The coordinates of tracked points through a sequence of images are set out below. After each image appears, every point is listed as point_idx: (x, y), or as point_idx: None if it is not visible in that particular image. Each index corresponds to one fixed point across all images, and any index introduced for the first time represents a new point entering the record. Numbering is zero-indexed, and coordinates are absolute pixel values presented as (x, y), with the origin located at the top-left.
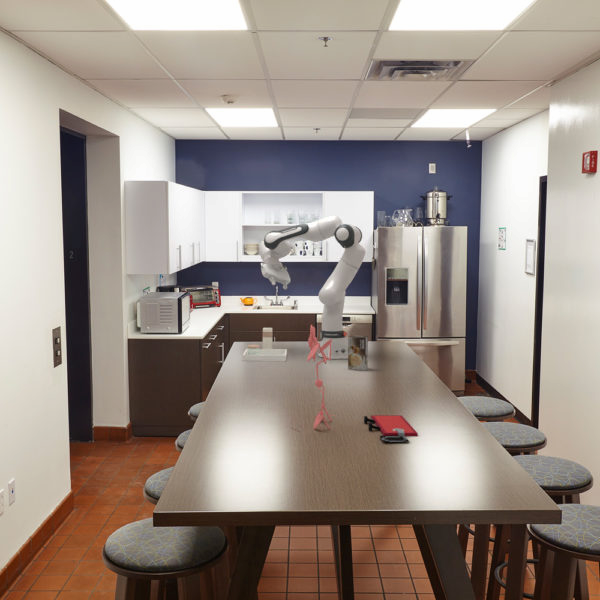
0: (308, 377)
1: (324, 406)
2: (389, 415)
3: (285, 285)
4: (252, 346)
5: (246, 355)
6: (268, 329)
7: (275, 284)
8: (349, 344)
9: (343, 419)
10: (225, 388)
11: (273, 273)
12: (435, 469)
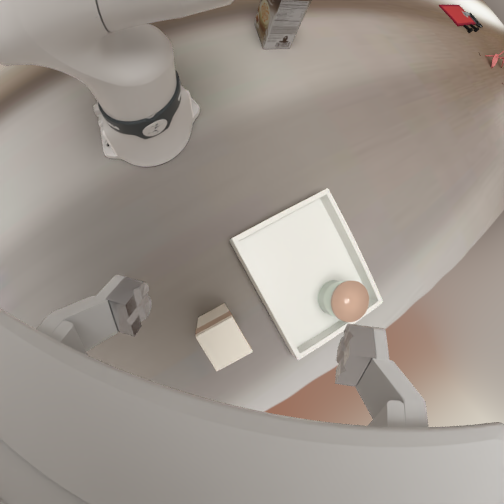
0: (398, 97)
1: (497, 55)
2: (447, 12)
3: (123, 296)
4: (367, 292)
5: (378, 292)
6: (239, 330)
7: (345, 329)
8: (305, 10)
9: (476, 46)
10: (501, 196)
11: (384, 470)
12: (481, 11)
